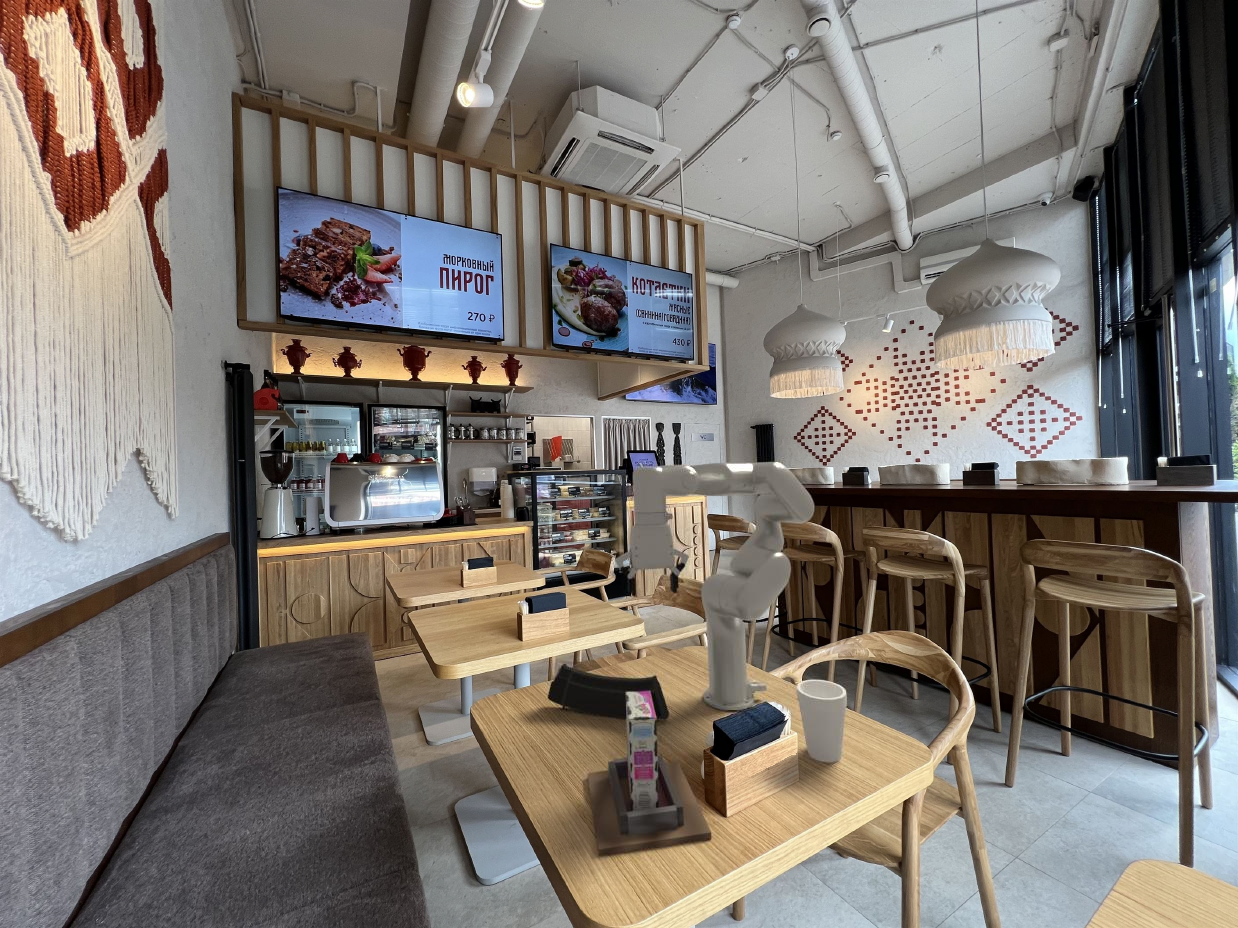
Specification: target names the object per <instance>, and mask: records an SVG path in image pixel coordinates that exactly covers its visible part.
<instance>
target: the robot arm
mask: <svg viewBox="0 0 1238 928" xmlns="http://www.w3.org/2000/svg"><path fill="white" fill-rule="evenodd" d="M632 487H633V489H632V491H633V492H632V493H633V512H634V514H633V515H634V525H631V527H630V533H629V550H628V551H627V552H625V553H623V554H622V555H620V556H618V557H616V559H614V561H615V564H616V566H617V568H619V571H620V572H621V573H622V574H623V575H625V577H627V591H628V592H629V593H630V594H631V596H632V597H636V596H637V590H636V588H637V587H636V585H637V584H636V578H635V575H636V574H637V573H638V571H641V570H642V571H644V570H645V571H647V570H657V569H658V570H659V569H660V570H661V569H669V570H670V571H671V573H670V574H669V582H670V583H669V584H670V585H669V586H670V587H669V588H670V591H671V592H672V593H673V594H676V593H677V592H678V590H677V589H679V583H680V582H679V576H680V574H681V573H682V571H683V570H684V569H685V567H686V565H687V562H688V561H689V558H690V556H689V555H688V554H687V553H685V552H682V551H680V550H679V549H675V547H674V541H673V534H672V529H671V526H670V524H668V522H669V521H670V520H673V517H674V516H673V513H669V512H668V511H667V497H686V496H690V495H694V496H695V495H697V496H698V495H699V496H705V497H707V496H708V497H725V496H726V497H727V496H750V495H759V496H758V497H757V499H756V500H755V504H754V512H755V521H756V522H755V524H756V525H755V528H754V531H753V533H751V535H750V536H749V538H748V539H747V540H746V541H745V542H744V543H743V545H742V546H741V547H740V548H739V549H738V550H737V552H736V553H735V554H734V555H733V557H732V558H731V560H730V564H729V569H730V573H731V574H732V575H730V574H726V573H715V574H711V575H710V576H708V577H706V579H705V580H704V581H703V584H702V587H701V600H702V601H701V602H702V605H703V610H704V615H705V621H706V639H707V641H706V642H707V644H706V645H707V666H708V667H707V668H708V687H709V688H706V689H705V690H704V692H703V700H704V702H705V704H707V705H708V706H710V707H711V708H714V709H717V710H720V711H727V710H734V709H735V710H736V709H737V711H743V710H746V709H748V707H749V708H750V707H752V706H753V705H754V703H755V695H754V694H755V692H766V691H767V684H766V683H765V682H759V683H758V682H757V680H755V679H754V680H748V672H747V671H748V670H747V669H748V668H747V647H746V628H745V624H744V621H746V622H747V621H748V622H751V621H756V620H758V619H760V618H761V617H762V616H763V615H764V614H765V613H766V612H767V610H769V608H770V607H771V606H772V604H773V603H774V602H775V601H776V599H777V598H778V597H779V596H780V594H781V593H782V592H783V591H784V589H785V587H787V584H788V583H789V580H790V577H791V572H792V566H791V562H790V559H789V558H788V557H787V556H788V555H786V554H785V553H783V552H782V550H783V547H784V544H785V539H784V534H783V530H782V525H781V523H788V524H804V523H807V522H808V521H810V520H811V519H812V517H813V516H814V512H815V503H814V500H813V498H812V495H811V494H810V493H809V491H808V490H807V489H806V488H805V487H804V485H803V484H802V483H801V482H800V481H799V480H798V478H797V477H796V475H794V473H793V472H792V471H791V470H790V469H789V468H788V467H786V466H785V465H784V464H782V463H781V462H777V461H768V462H767V461H765V462H763V461H762V462H715V463H714V462H713V463H710V462H709V463H705V464H695V465H685V464H669V465H668V464H667V465H657V466H642V467H637V468H635V469H633V472H632ZM675 556H677V557H678V558H680V561H679V562H678V563H677V565H675V563H676V561H675V559H676V557H675ZM628 560H629V564H630V567H629V568H628V569H627V568H626V567H625V565H624V562H625V561H628Z"/></svg>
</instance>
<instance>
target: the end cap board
mask: <svg viewBox="0 0 1238 928" xmlns="http://www.w3.org/2000/svg"><path fill="white" fill-rule="evenodd" d="M657 760H658V796H659V808H653V809H646V810H639V811H631V804H630V793H629V782H628V758H627V757H622V758H621V757H619V758H614V759H613V760H612V761H607V770H599V771H593V772H592V771H591V772H587V784H588V790H589V796H590V805H591V809H592V817H593V824H594V831H595V837H596V838H595V839H596V844H597V852H598V857H601V856H607V855H613V854H615V855H616V854H622V853H626V852H627V853H628V852H635V851H641V850H646V849H653V848H660V847H665V846H672V845H673V846H674V845H679V844H687V843H692V842H698V841H700V842H701V841H706V840H711V839H713V838H712V831H711V829H710V827H709V824H708V822H707V820H706V818H705V816H704V813H703V811H702V810H701V807H700V805H699V803H698V801H697V799H696V797H695V795H694V793H693V790H692V788H691V786H690V784H689V782H688V780H687V778H686V776H685V773H684V771H683V770H682V767H681V765H680V763H679V761H678V760H677V761H671V762H670V761H669V762H665V760H664V758H663V755H662V754H661V755H660V754H659V755H658V754H657Z"/></svg>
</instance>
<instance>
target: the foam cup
mask: <svg viewBox="0 0 1238 928" xmlns="http://www.w3.org/2000/svg"><path fill="white" fill-rule="evenodd" d="M846 690H847V689H846V688H845V687H843V686H842V685H840V684H838V683H835V682H832V681H829V680H824V679H807V680H802V681H800V682H799V683H798V684H796V696H797V702H798V705H799V711H800V716H801V722H802V726H803V727H802V728H803V733H804V738H805V746H806V749H807V754H808V756H810V757H811V758H812V759H814V760H816V761H818V762H822V763H835V762H839V761H840V760H841V758H842V752H843V750H842V749H843V742H844V741H843V740H844V729H845V722H846V721H845V719H846V718H845V717H846V710H847V709H846V708H847V706H848V700H847V699H848V698H847V691H846Z"/></svg>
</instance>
